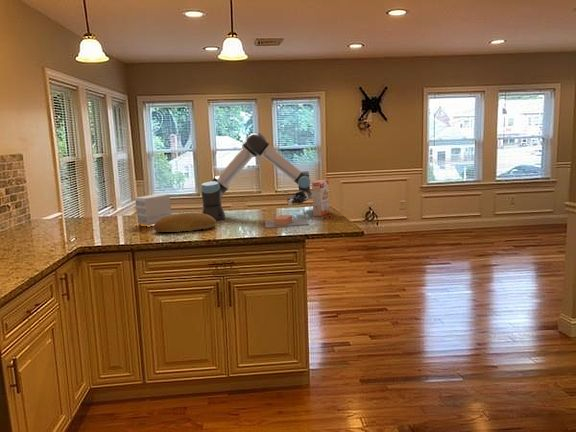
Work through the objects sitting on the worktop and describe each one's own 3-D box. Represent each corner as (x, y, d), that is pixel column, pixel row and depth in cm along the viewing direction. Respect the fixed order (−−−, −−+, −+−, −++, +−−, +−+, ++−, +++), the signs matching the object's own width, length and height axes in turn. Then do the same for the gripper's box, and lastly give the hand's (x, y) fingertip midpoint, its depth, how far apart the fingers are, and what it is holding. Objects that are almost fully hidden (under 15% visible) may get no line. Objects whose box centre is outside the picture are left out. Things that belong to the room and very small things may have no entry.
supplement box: (162, 221, 307) (159, 193, 304) (173, 222, 298) (170, 194, 295) (137, 225, 295) (134, 197, 292) (148, 227, 286) (144, 198, 283)
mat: (265, 228, 260) (265, 227, 260) (265, 221, 279) (265, 220, 279) (308, 225, 261) (308, 223, 261) (305, 219, 280) (305, 218, 280)
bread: (216, 230, 264) (214, 213, 263) (152, 235, 261) (150, 218, 259) (217, 224, 282) (215, 208, 281) (157, 229, 279) (155, 212, 277)
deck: (280, 215, 275) (273, 219, 264) (292, 215, 273) (285, 218, 262) (280, 221, 275) (274, 225, 264) (292, 220, 273) (286, 225, 262)
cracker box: (322, 216, 284) (320, 182, 281) (313, 216, 287) (311, 182, 283) (330, 212, 297) (328, 179, 293) (321, 212, 299) (319, 179, 296)
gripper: (310, 202, 301) (300, 209, 279) (291, 203, 305) (279, 209, 283) (310, 191, 300) (299, 196, 278) (290, 191, 304) (278, 196, 282)
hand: (289, 202), depth 280 cm, fingers closed
